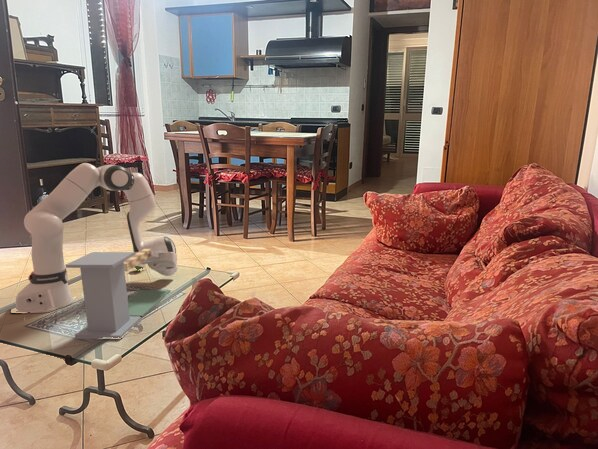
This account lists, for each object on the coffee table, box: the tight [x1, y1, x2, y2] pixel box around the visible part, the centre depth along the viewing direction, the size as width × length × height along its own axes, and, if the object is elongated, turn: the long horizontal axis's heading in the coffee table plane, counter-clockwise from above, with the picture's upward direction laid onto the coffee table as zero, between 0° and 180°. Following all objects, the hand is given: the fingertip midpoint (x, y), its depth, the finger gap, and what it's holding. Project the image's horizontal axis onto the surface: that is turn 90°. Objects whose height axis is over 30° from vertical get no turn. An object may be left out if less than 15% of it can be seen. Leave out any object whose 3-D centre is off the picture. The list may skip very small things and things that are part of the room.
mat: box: [127, 289, 171, 317], centre depth 181 cm, size 28×14×1 cm, turn 175°
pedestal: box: [65, 251, 143, 340], centre depth 155 cm, size 16×16×26 cm
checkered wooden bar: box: [124, 249, 151, 272], centre depth 178 cm, size 22×3×3 cm, turn 175°
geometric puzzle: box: [132, 264, 146, 272], centre depth 226 cm, size 7×7×8 cm
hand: (145, 252), depth 186 cm, fingers closed on checkered wooden bar, 3 cm apart
